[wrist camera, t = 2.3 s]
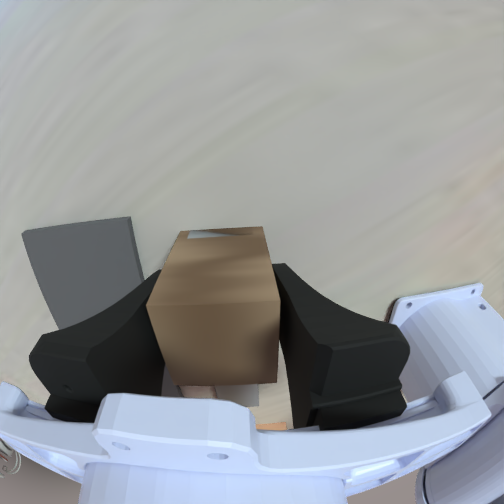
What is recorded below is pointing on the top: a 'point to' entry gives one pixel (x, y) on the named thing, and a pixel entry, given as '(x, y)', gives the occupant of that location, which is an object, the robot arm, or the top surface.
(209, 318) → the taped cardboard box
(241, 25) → the top surface
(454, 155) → the top surface
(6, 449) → the french press
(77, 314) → the tool mat
